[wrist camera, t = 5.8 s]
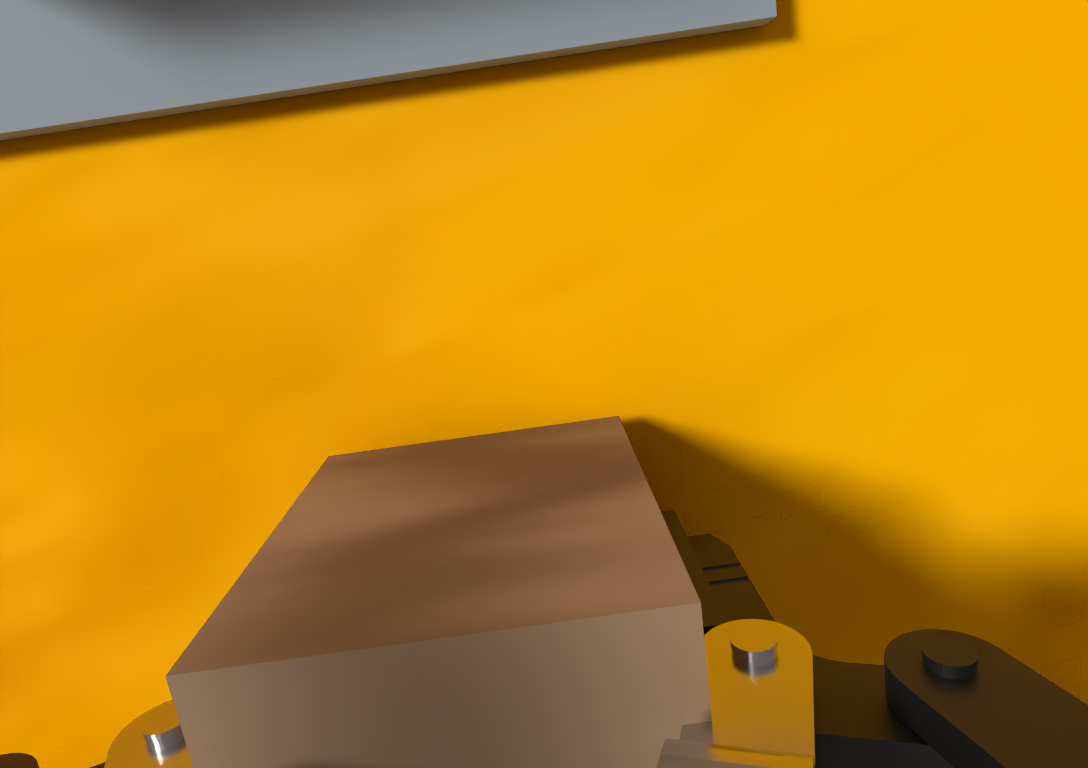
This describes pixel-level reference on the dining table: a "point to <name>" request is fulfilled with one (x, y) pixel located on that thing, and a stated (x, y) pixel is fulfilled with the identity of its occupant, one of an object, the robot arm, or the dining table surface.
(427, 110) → the dining table surface
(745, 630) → the robot arm
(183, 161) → the dining table surface
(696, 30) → the mat
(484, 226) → the dining table surface
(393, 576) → the walnut block
